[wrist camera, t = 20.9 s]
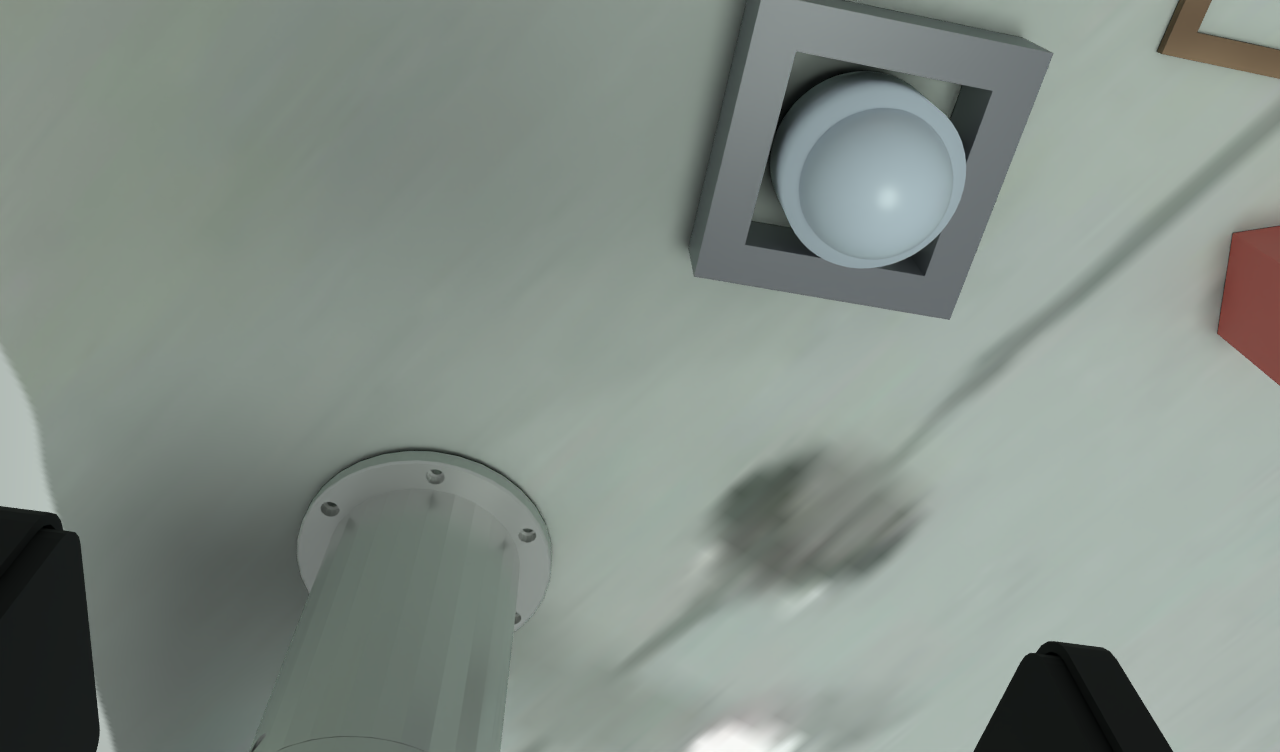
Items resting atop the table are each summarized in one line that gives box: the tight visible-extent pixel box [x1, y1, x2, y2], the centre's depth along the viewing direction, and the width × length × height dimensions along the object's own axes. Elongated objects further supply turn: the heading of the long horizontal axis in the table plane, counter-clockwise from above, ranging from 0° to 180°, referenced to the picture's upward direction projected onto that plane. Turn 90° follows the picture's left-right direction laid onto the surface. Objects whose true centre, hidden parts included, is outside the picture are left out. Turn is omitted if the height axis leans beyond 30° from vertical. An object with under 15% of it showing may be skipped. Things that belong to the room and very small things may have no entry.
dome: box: [770, 71, 966, 268], centre depth 36 cm, size 7×7×6 cm
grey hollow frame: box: [688, 0, 1053, 320], centre depth 39 cm, size 11×11×3 cm
